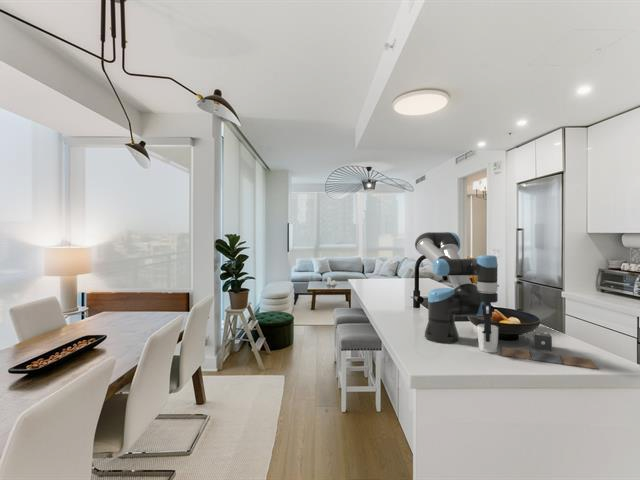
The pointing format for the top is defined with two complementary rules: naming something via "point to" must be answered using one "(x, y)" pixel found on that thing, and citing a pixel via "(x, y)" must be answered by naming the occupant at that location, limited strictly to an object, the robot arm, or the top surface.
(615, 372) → the top surface
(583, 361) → the board
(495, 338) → the white cup
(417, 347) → the top surface
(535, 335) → the die
